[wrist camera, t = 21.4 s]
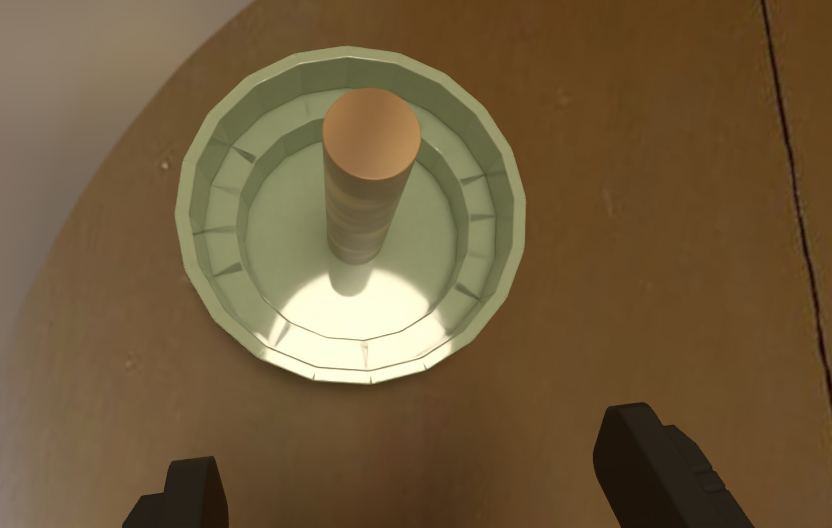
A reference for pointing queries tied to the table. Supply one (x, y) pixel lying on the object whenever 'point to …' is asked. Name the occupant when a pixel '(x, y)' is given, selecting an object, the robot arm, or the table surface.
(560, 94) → the table surface
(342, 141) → the stick
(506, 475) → the table surface
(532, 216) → the table surface
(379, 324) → the bowl
